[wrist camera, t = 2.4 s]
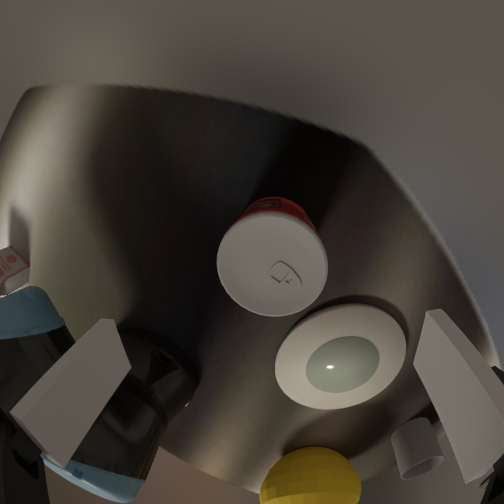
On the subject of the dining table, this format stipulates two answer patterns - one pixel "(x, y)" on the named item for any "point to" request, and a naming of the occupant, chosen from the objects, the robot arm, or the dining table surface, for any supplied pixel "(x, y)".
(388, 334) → the plate
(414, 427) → the cup
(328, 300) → the dining table surface
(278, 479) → the vase
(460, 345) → the robot arm
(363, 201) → the dining table surface
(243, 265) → the canned food
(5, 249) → the small printed carton
